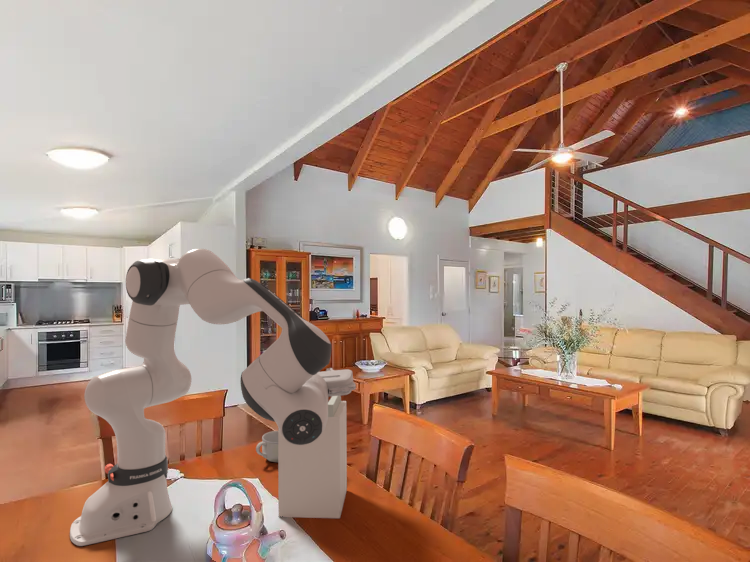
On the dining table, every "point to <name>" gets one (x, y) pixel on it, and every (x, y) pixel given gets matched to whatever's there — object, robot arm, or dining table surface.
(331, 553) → the dining table surface
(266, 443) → the teacup
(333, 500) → the tall box with rails
